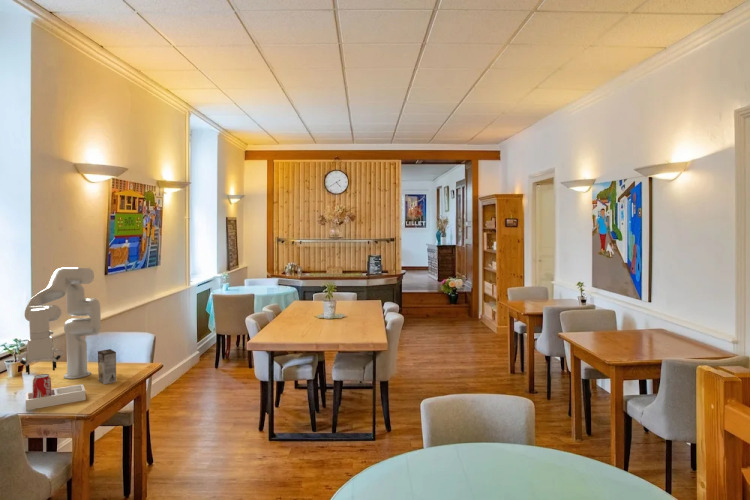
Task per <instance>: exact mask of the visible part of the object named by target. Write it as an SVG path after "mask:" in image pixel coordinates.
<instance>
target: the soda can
mask: <svg viewBox="0 0 750 500" xmlns="http://www.w3.org/2000/svg"><path fill="white" fill-rule="evenodd" d="M33 377H34V378H33V380H32V392H33V399H34V398H40V397H46V396H51V389H52V378H51V377H50V374H49V373H41V374H37V375H35V376H33Z"/></svg>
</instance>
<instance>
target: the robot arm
mask: <svg viewBox="0 0 750 500" xmlns="http://www.w3.org/2000/svg"><path fill="white" fill-rule="evenodd" d="M94 279H95V273H94V271H93V269H92V268H89V267H60V268H57V269H55V271H54V272H53V274H52V275H51V278H50V280H49V282H48V285H47V286H46V288H44V289H43V290H41V291H39V292H38V293H36V294H35V295H34V296H32V297H31V298H30V299H29V301H28V303H27V305H26V307H25V309H24V319H25V320H26V321H27V322H28V323H29V325H28V326H29V338H28V339H27V345H26V352H24V353H21V354H20V355H18V356H17V359H18V361H19V363H20V364H22V365H24V366H25V373H27V375H30V373H31V370H30V364H31V362H37V361H44V360H51V361H52V371H53V372H55V371H56V369H57V362H58V360H60V358H61V357H62V355H63V353H64V350H60V349H58V348H54V341H53V337H52V336H51V335H54V330H53V331H51V330H50V322H54V321H57V320H59V318H60V317H61V315H62V309H61V308H60V306H58V305H55V304H49V303H50V302H53V301H57V300H60V299H61V298H64V297H65V296H66V298H65V299H66V313H67V315H69V316H70V317H78V318H70V319H67V320H66V321H65V322H64V323H63V324H64V325H63V331H64V332H63V333H64V336H65V340H66V341H65V342H66V344H65V345H66V373H65V374H63V378H65V379H69V380H72V379H74V380H75V379H80V378H85V377H88V376H90V375H91V373H92V372H91V371H90V370H88V345H87V340H86V339H85V338H84V337H83V336H97V335H98V334H99V333H100V332H101V326H102V325H101V324H102V323H101V321H102V320H101V303H100V301H99V300H98V299H97V298H94V297H91V298H90V297H88V298H86V296H85V288H84V286H83V285H87V284H88V285H90V284H91V283H92V282H93V281H94ZM47 303H48V304H47ZM46 304H47V305H46ZM79 317H80V318H79ZM84 317H85V318H84ZM87 317H88V318H87ZM55 353H57V356H55ZM26 356H27V357H26ZM25 357H26V358H27V360H26V361H25V360H24V359H23V358H25Z"/></svg>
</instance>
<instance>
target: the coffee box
mask: <svg viewBox="0 0 750 500" xmlns="http://www.w3.org/2000/svg"><path fill="white" fill-rule="evenodd" d="M97 363H98V365H97V367H98V369H97V372H98V375H97V376H98V381H99V382H100V383H101V384H103V385H107V384H113V383H116V382H117V352H116V351H114V350H112V349H111V348H110V349H103V350H99V351H97Z"/></svg>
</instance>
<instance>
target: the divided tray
mask: <svg viewBox="0 0 750 500" xmlns="http://www.w3.org/2000/svg"><path fill="white" fill-rule="evenodd" d="M86 398H87V397H86V388H85V386H84V384H83V383H81V384H75V385H74V384H73V385H68V386H63V387H56V388H55V387H54V388H51V396H46V397H40V398H34V399H33V391H30V392H26V393H25V410H26V411H31V410H35V409H36V408H37V409H41V408H42V409H43V408H47V407H53V406H58V405H65V404H70V403H76V402H82V401H86Z"/></svg>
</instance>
